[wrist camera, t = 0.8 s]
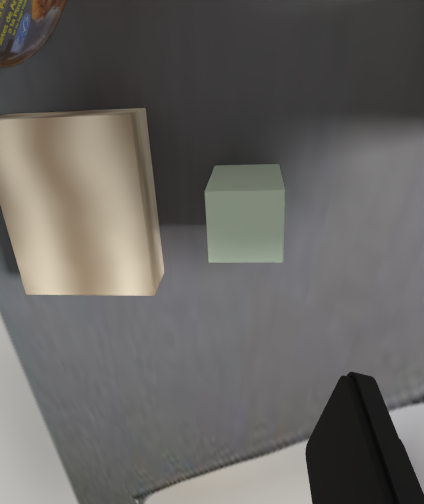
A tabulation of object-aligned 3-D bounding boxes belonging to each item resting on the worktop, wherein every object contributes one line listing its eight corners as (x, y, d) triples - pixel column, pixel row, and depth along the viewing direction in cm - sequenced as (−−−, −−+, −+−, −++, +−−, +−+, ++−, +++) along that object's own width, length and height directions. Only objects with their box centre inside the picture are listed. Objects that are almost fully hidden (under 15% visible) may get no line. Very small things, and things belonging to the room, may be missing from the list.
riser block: (145, 107, 30) (130, 114, 26) (164, 272, 36) (154, 295, 32) (8, 113, 31) (-25, 120, 27) (48, 271, 37) (26, 294, 33)
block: (279, 163, 31) (285, 190, 24) (277, 224, 33) (282, 262, 27) (214, 165, 31) (204, 191, 25) (217, 224, 33) (208, 262, 27)
